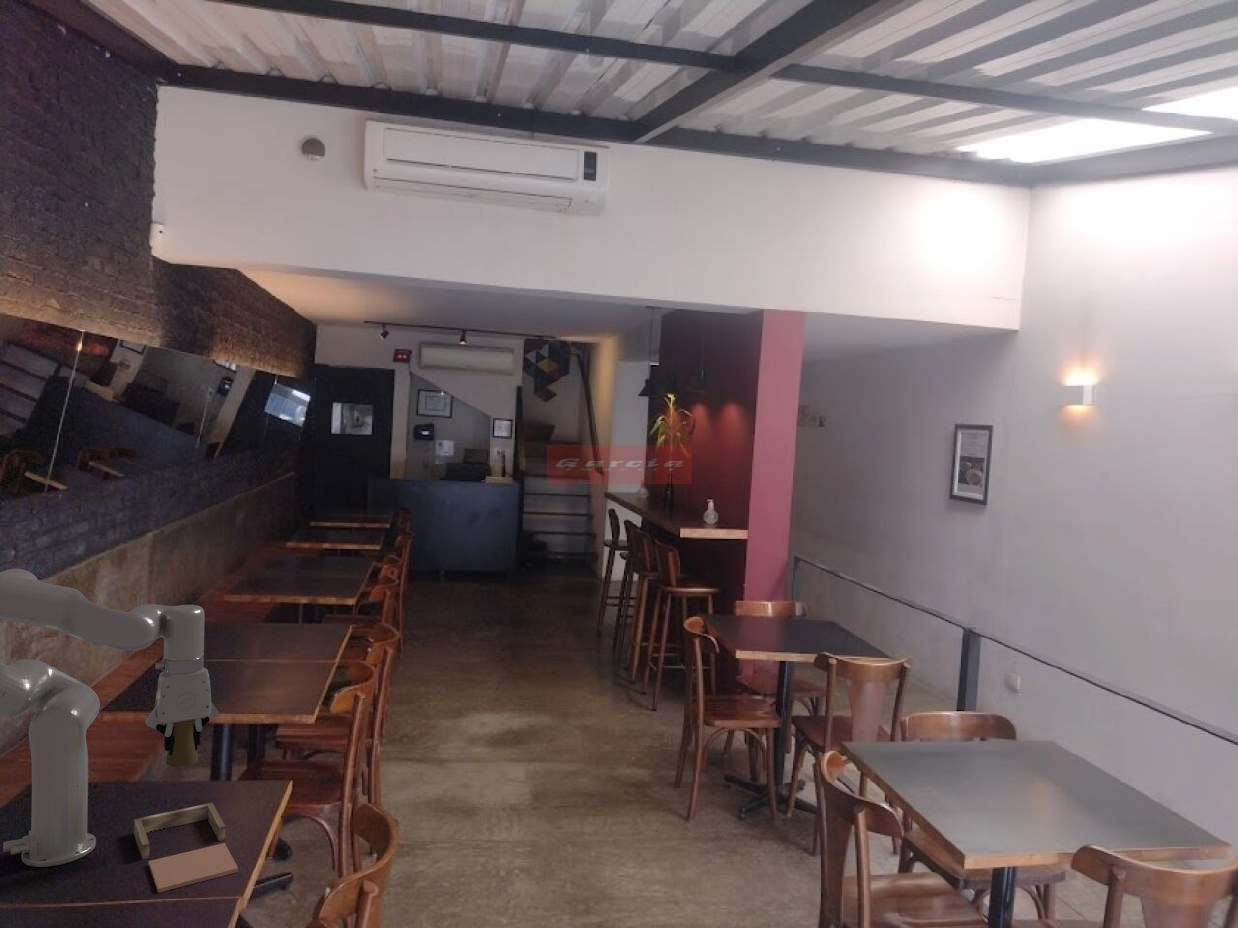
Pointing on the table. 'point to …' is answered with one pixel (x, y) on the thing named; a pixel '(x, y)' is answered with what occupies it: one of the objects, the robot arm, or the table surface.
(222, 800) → the table surface
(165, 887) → the tile
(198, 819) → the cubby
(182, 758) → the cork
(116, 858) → the table surface
